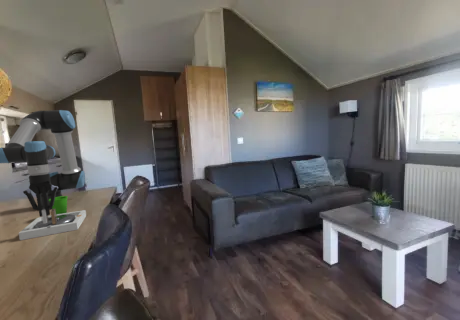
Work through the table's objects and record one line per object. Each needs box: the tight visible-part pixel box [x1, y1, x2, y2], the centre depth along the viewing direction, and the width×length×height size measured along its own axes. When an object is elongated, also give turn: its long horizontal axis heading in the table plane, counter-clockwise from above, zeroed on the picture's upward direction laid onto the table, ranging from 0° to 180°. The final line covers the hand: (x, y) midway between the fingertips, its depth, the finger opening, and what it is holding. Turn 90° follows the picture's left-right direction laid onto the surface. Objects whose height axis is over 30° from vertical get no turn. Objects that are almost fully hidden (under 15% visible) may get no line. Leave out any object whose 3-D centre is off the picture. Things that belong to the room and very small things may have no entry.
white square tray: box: [18, 209, 87, 241], centre depth 114 cm, size 22×22×4 cm
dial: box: [36, 209, 75, 229], centre depth 114 cm, size 16×16×8 cm
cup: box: [49, 195, 69, 215], centre depth 130 cm, size 9×9×11 cm
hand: (45, 222), depth 107 cm, fingers closed
